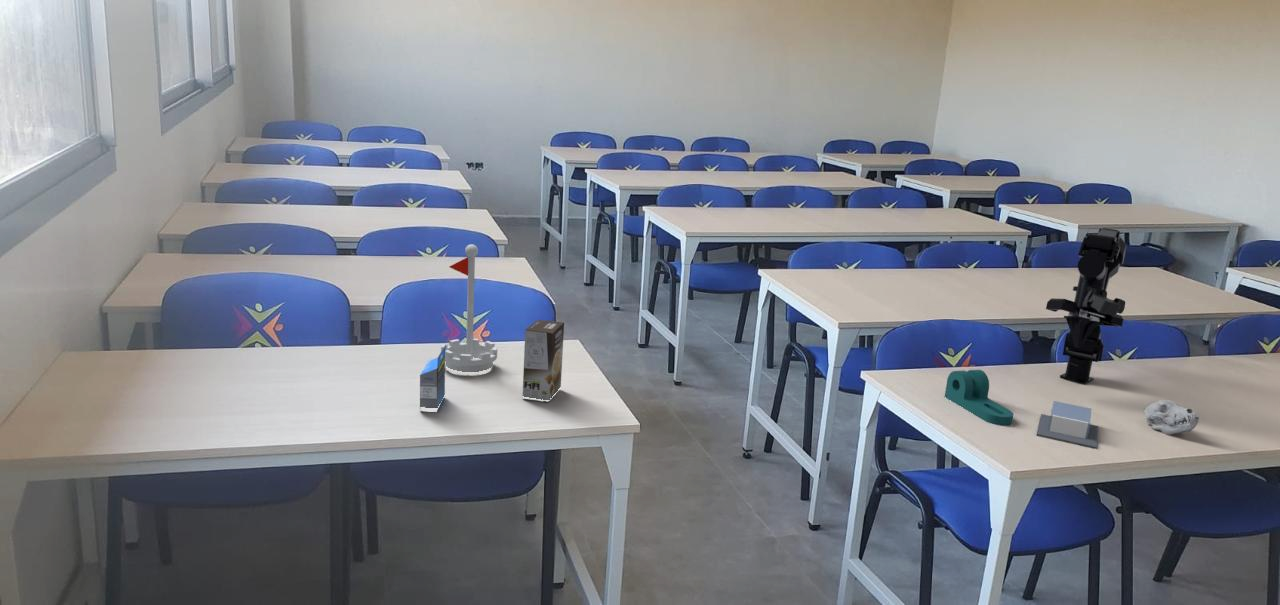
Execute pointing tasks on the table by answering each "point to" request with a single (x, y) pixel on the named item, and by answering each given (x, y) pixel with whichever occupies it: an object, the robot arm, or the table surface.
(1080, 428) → the book block
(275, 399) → the table surface
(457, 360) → the flag stand
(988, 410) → the bracket
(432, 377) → the label tape cartridge
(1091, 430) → the mat
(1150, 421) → the skull
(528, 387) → the coffee box
